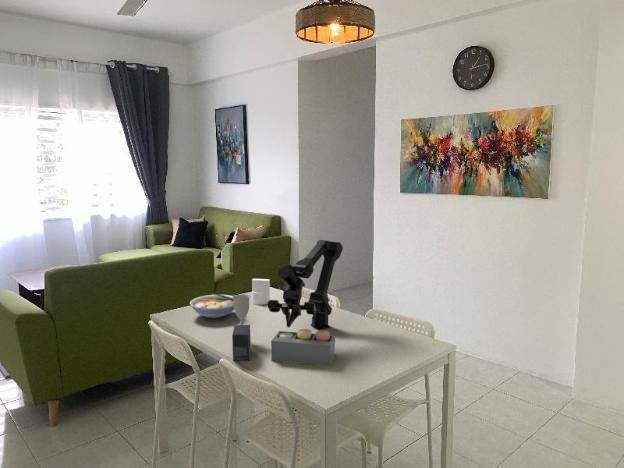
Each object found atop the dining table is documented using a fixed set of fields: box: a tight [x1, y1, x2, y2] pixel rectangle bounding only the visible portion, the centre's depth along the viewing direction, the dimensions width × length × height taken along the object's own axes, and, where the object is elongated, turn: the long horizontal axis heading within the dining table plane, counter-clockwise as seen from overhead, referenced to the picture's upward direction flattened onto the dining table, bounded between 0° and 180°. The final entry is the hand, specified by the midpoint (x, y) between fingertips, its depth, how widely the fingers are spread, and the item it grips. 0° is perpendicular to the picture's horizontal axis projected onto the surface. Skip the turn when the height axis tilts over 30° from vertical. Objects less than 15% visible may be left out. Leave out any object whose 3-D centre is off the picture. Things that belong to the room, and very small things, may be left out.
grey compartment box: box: [270, 330, 336, 366], centre depth 180 cm, size 11×22×8 cm, turn 78°
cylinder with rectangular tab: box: [251, 278, 271, 306], centre depth 250 cm, size 9×9×12 cm
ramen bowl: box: [189, 292, 235, 319], centre depth 227 cm, size 25×23×8 cm
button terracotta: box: [315, 329, 331, 342], centre depth 179 cm, size 5×5×3 cm
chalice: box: [232, 293, 251, 325], centre depth 197 cm, size 7×7×18 cm
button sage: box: [280, 331, 293, 339], centre depth 183 cm, size 5×5×3 cm
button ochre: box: [297, 328, 312, 340], centre depth 181 cm, size 5×5×3 cm
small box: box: [231, 324, 252, 362], centre depth 181 cm, size 11×6×10 cm, turn 5°
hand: (288, 327), depth 184 cm, fingers closed
